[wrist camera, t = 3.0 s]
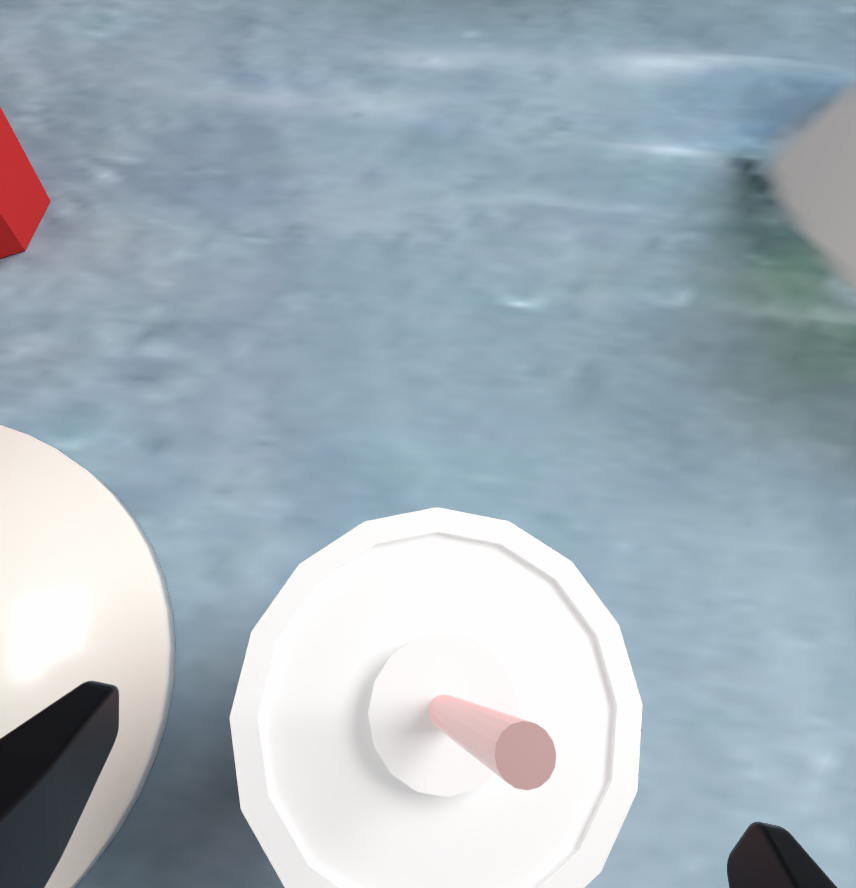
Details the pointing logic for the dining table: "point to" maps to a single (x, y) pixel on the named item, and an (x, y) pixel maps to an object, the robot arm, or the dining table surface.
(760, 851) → the robot arm
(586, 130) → the dining table surface
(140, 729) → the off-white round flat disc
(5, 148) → the french fries
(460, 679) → the beverage cup
